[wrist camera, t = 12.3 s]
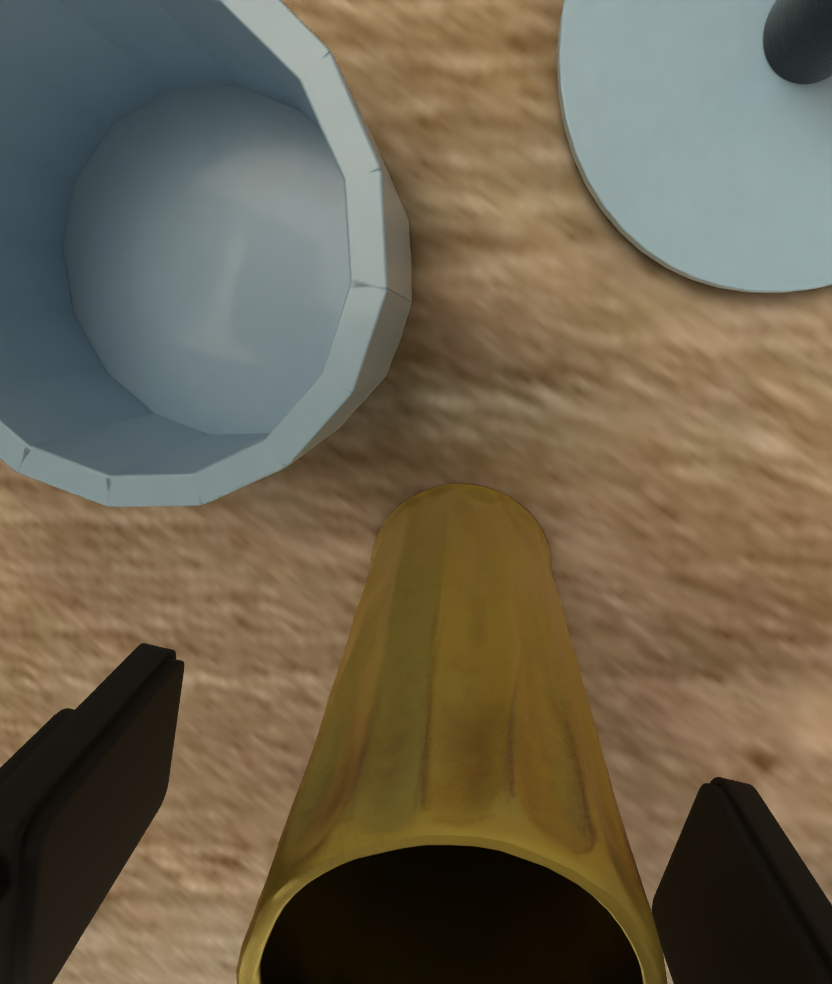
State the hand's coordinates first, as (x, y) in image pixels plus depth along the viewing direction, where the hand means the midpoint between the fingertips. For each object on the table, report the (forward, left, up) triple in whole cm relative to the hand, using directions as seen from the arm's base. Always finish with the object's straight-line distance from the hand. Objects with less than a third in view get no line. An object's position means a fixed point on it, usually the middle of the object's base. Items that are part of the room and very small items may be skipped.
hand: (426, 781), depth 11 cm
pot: (-11, +2, -11) cm, 16 cm away
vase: (+1, 0, -11) cm, 11 cm away
